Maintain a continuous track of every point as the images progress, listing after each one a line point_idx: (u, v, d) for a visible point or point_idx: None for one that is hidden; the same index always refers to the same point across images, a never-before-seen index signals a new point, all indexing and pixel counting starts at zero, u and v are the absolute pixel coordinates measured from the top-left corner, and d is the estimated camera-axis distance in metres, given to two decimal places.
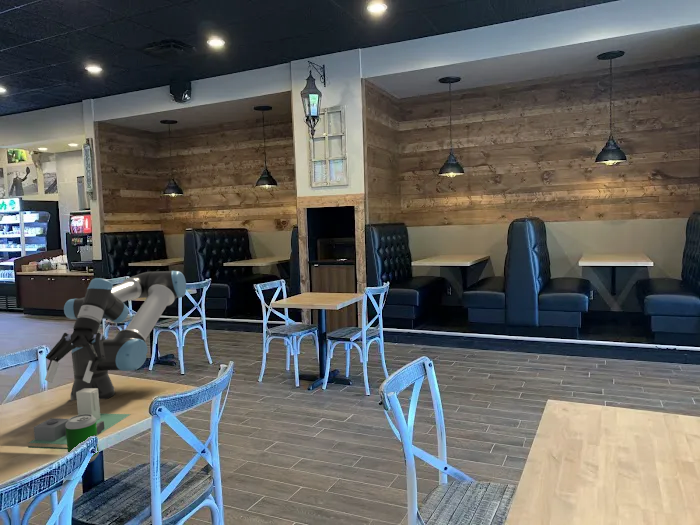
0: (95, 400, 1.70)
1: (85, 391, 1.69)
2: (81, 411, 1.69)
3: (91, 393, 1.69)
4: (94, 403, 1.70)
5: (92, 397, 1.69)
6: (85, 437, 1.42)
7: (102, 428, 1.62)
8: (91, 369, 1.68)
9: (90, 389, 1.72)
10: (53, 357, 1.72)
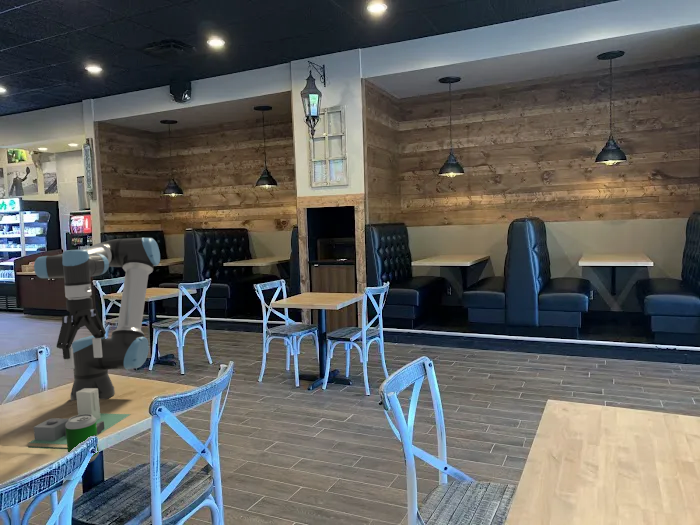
0: (95, 400, 1.70)
1: (85, 391, 1.69)
2: (81, 411, 1.69)
3: (91, 393, 1.69)
4: (94, 403, 1.70)
5: (92, 397, 1.69)
6: (85, 437, 1.42)
7: (102, 428, 1.62)
8: None
9: (90, 389, 1.72)
10: (70, 344, 1.62)
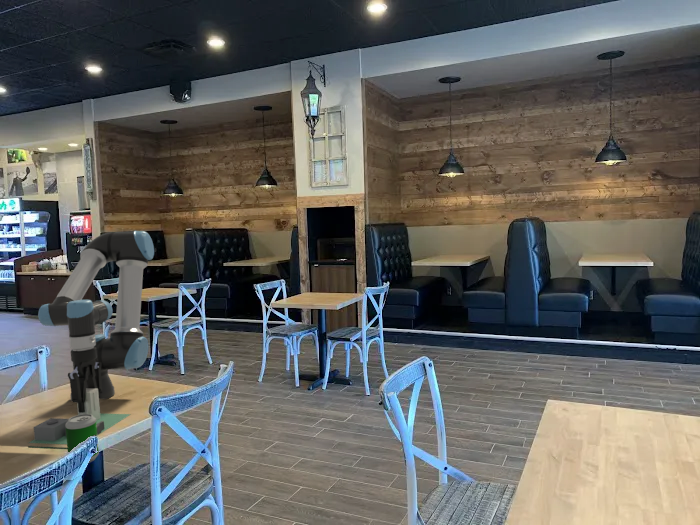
0: (95, 400, 1.70)
1: None
2: None
3: (91, 393, 1.69)
4: (94, 403, 1.70)
5: (92, 397, 1.69)
6: (85, 437, 1.42)
7: (102, 428, 1.62)
8: None
9: (90, 389, 1.72)
10: (84, 398, 1.68)
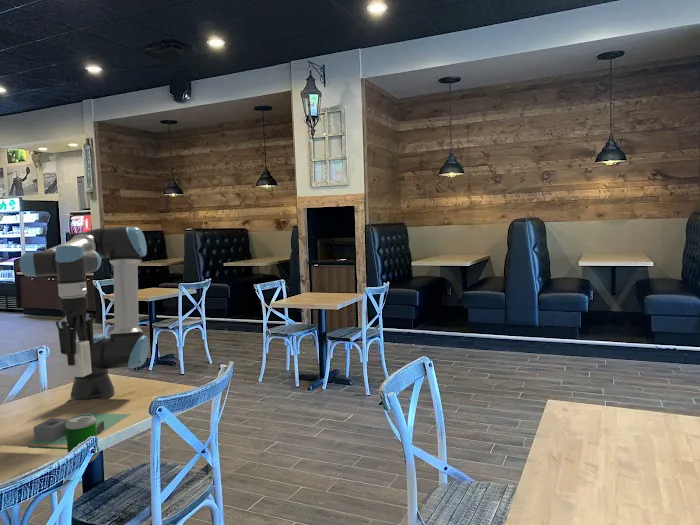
0: (86, 353, 1.58)
1: None
2: None
3: (81, 345, 1.57)
4: (85, 356, 1.57)
5: (83, 349, 1.57)
6: (85, 437, 1.42)
7: (102, 428, 1.62)
8: None
9: (80, 341, 1.59)
10: (74, 350, 1.55)
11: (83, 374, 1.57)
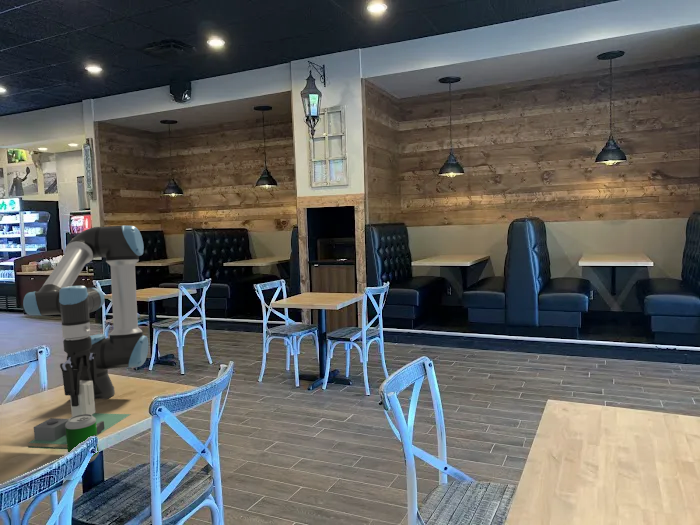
0: (89, 393, 1.59)
1: None
2: None
3: (85, 386, 1.57)
4: (88, 396, 1.58)
5: (86, 390, 1.58)
6: (85, 437, 1.42)
7: (102, 428, 1.62)
8: None
9: (84, 381, 1.60)
10: (78, 391, 1.56)
11: None
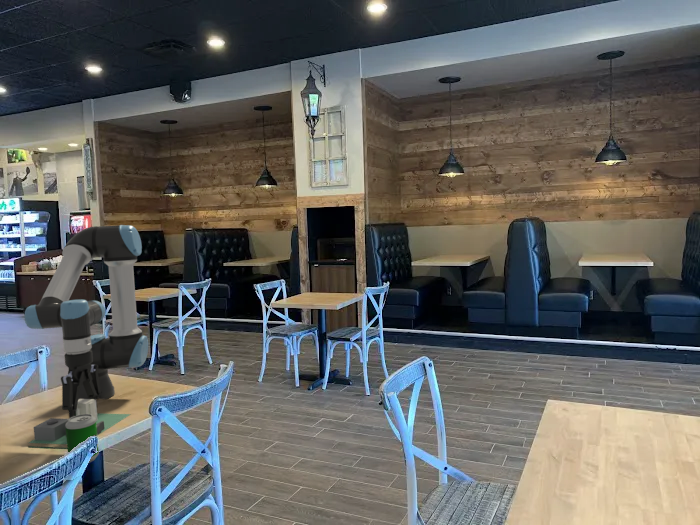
0: (91, 412, 1.59)
1: (80, 402, 1.58)
2: None
3: (87, 404, 1.58)
4: None
5: (88, 409, 1.58)
6: (85, 437, 1.42)
7: (102, 428, 1.62)
8: None
9: (86, 400, 1.61)
10: (76, 405, 1.55)
11: None
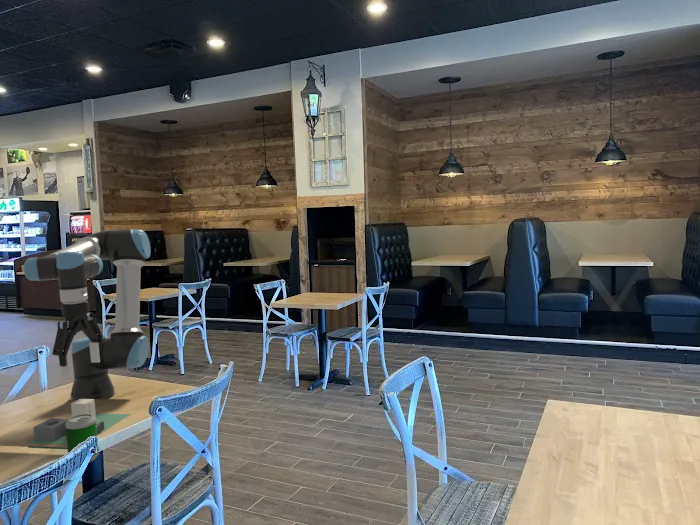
0: (91, 412, 1.59)
1: (80, 402, 1.58)
2: None
3: (87, 404, 1.58)
4: None
5: (88, 409, 1.58)
6: (85, 437, 1.42)
7: (102, 428, 1.62)
8: None
9: (86, 400, 1.61)
10: (66, 351, 1.56)
11: None
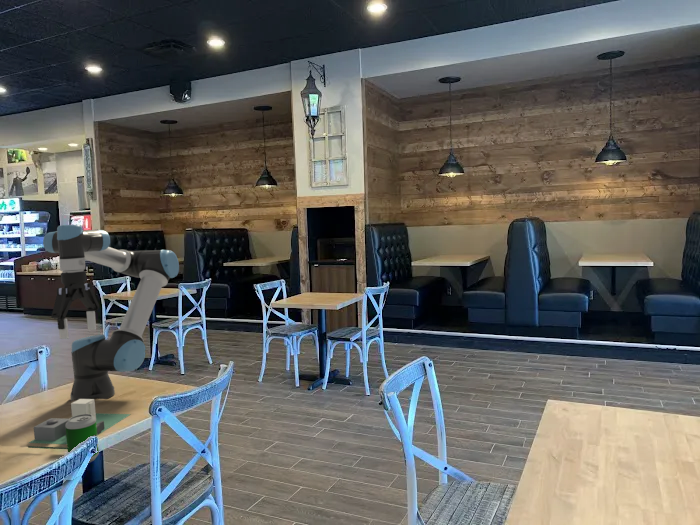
0: (91, 412, 1.59)
1: (80, 402, 1.58)
2: None
3: (87, 404, 1.58)
4: None
5: (88, 409, 1.58)
6: (85, 437, 1.42)
7: (102, 428, 1.62)
8: (94, 318, 1.83)
9: (86, 400, 1.61)
10: (64, 315, 1.68)
11: None
